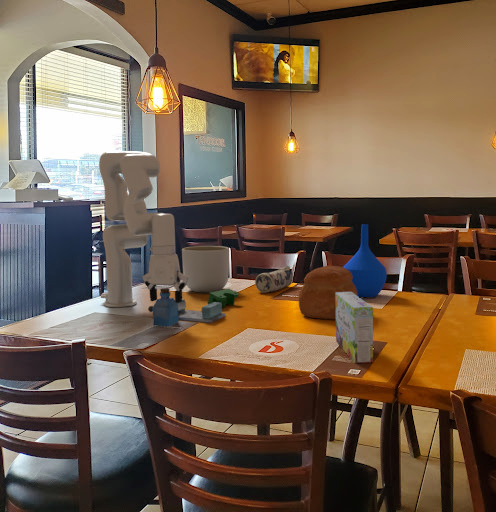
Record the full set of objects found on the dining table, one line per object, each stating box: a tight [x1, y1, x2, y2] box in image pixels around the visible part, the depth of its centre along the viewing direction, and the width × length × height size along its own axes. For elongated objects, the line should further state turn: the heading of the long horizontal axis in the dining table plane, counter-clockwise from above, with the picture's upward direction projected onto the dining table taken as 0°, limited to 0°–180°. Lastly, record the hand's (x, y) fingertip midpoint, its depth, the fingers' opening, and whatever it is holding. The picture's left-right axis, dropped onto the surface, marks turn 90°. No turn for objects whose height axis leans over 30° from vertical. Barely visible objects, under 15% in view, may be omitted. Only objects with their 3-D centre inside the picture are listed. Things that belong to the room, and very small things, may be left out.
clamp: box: [207, 288, 239, 309], centre depth 218 cm, size 12×6×9 cm, turn 134°
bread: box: [298, 265, 357, 320], centre depth 202 cm, size 18×22×17 cm
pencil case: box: [254, 265, 294, 294], centre depth 250 cm, size 22×8×10 cm, turn 148°
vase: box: [343, 223, 388, 298], centre depth 233 cm, size 18×18×30 cm
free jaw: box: [147, 298, 187, 313], centre depth 203 cm, size 10×10×4 cm
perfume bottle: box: [152, 287, 179, 327], centre depth 189 cm, size 6×6×12 cm
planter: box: [181, 245, 230, 294], centre depth 250 cm, size 21×21×19 cm
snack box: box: [335, 292, 374, 364], centre depth 155 cm, size 21×6×15 cm, turn 5°
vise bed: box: [178, 302, 226, 324], centre depth 199 cm, size 20×11×5 cm, turn 67°
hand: (166, 301), depth 189 cm, fingers open, 9 cm apart
